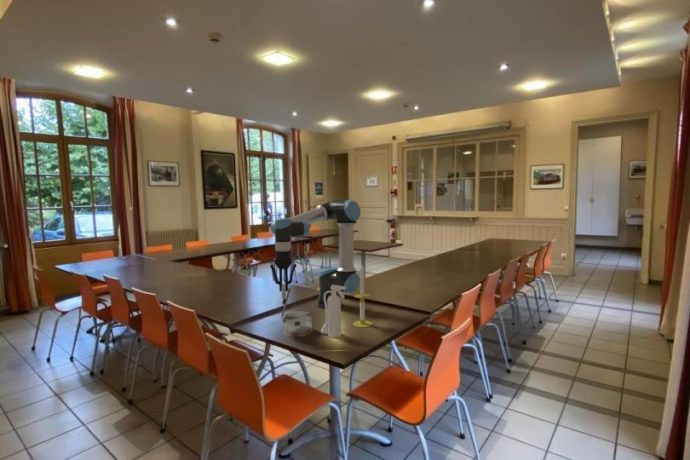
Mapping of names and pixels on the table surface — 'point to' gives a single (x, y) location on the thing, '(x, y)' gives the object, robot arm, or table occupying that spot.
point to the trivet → (302, 335)
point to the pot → (298, 323)
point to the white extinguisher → (333, 311)
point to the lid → (285, 302)
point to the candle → (362, 302)
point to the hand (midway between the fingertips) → (283, 297)
